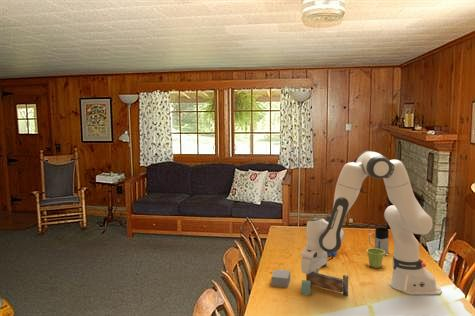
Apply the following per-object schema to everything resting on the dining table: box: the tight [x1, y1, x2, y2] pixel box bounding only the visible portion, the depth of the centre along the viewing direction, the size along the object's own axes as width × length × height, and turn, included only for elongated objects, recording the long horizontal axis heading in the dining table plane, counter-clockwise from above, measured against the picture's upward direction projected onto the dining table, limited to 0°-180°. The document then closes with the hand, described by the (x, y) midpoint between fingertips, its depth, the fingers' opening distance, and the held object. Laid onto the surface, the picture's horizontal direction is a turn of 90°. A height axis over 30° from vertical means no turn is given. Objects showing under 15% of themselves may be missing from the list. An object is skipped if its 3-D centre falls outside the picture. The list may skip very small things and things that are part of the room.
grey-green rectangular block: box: [301, 279, 312, 296], centre depth 180 cm, size 4×2×6 cm, turn 77°
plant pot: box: [366, 247, 385, 269], centre depth 213 cm, size 9×9×9 cm
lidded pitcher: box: [368, 227, 390, 255], centre depth 232 cm, size 9×14×15 cm, turn 112°
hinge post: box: [342, 274, 349, 297], centre depth 178 cm, size 2×2×9 cm
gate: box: [305, 272, 343, 294], centre depth 184 cm, size 18×2×6 cm, turn 54°
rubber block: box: [271, 269, 291, 288], centre depth 193 cm, size 8×10×5 cm
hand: (315, 276), depth 191 cm, fingers closed
